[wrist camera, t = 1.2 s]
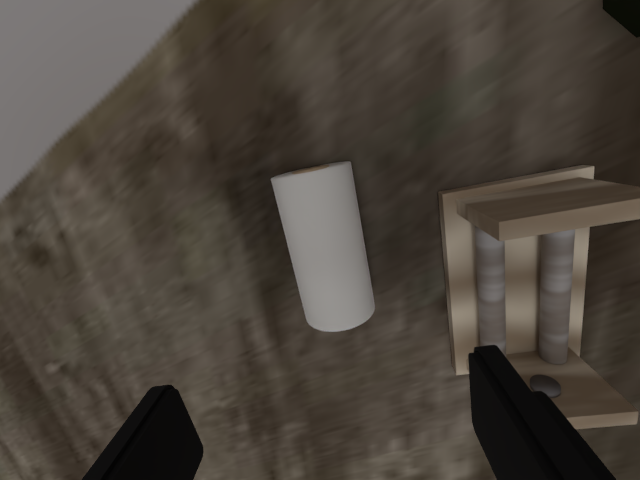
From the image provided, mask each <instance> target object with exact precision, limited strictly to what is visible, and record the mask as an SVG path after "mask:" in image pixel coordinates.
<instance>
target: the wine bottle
mask: <svg viewBox="0 0 640 480" xmlns="http://www.w3.org/2000/svg"><path fill="white" fill-rule="evenodd" d="M603 9H604V10H605V11H606V12H608V13H609V14H610V15H611V16H612V17H614V18H615V19H616V20H617V21H618V22H619V23H621V24H622V25H623V26H624V27H625V28H627V29H628V30H629V31H630V32H631V33H632V34H634V35H635V36H636V37H640V0H603Z"/></svg>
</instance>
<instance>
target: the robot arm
mask: <svg viewBox="0 0 640 480" xmlns="http://www.w3.org/2000/svg"><path fill="white" fill-rule="evenodd" d="M468 360H469V377H470V394H471V411H472V423H473V427H474V430H475V433H476V435H477V437H478V439H479V442H480V444H481V446H482V448H483V450H484V452H485V454H486V457H487V459H488V461H489V463H490V465H491V467H492V470H493V472H494V474H495V476H496V478H497V480H616V479H615V477H614V476H613V475H612V474H611V473H610V471H609V470H608V469H607V468H606V466H605V465H604V464H603V463H602V461H601V460H600V459H599V458H598V457H597V455H596V454H595V453H594V452H593V450H592V449H591V448H590V447H589V445H588V444H587V443H586V442H585V440H584V439H583V438H582V437H581V436H580V434H579V433H578V432H577V431H576V429H575V428H574V427H573V426H572V424H571V423H570V422H569V421H568V419H567V418H566V417H565V416H564V415H563V413H562V412H561V411H560V410H559V408H558V407H557V406H556V405H555V403H554V402H553V401H552V400H551V399H550V398H549V397H548V395H547V394H545V393H544V392H542V391H531V390H530V388H529V387H528V386H527V384H526V383H525V382H524V380H523V379H522V378H521V376H520V375H519V374H518V372H517V371H516V370H515V368H514V367H513V366H512V365H511V363H510V362H509V361H508V359H507V358H506V357H505V355H504V354H503V353H502V351H501V350H500V349H499V348H498V346H497V345H487V346H479V347H474V353H469V354H468ZM202 457H203V445H202V443H201V441H200V438H199V436H198V434H197V432H196V429H195V427H194V425H193V423H192V420H191V418H190V416H189V414H188V411H187V409H186V407H185V405H184V403H183V400H182V398H181V396H180V394H179V391H178V390H177V389H175V388H174V387H173V386H172V385H163V386H155V387H152V388H151V389H150V390H149V391H148V392H147V393H146V395H145V396H144V397H143V399H142V400H141V401H140V403H139V404H138V405H137V407H136V408H135V409H134V411H133V412H132V413H131V415H130V416H129V417H128V419H127V420H126V421H125V423H124V424H123V425H122V427H121V428H120V429H119V431H118V432H117V433H116V435H115V436H114V437H113V439H112V440H111V441H110V443H109V444H108V445H107V447H106V448H105V449H104V451H103V452H102V453H101V455H100V456H99V457H98V459H97V460H96V461H95V463H94V464H93V465H92V467H91V468H90V469H89V471H88V472H87V473H86V475H85V476H84V477H83V479H82V480H193V479H194V476H195V474H196V471H197V469H198V467H199V464H200V462H201V460H202Z"/></svg>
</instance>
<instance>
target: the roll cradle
mask: <svg viewBox="0 0 640 480" xmlns="http://www.w3.org/2000/svg"><path fill="white" fill-rule="evenodd" d="M438 201H439V213H440V225H441V237H442V249H443V261H444V273H445V285H446V297H447V309H448V321H449V333H450V345H451V358H452V367H453V369H454V371H455V373H456V375H463V374H469V360H468V354H469V353H474V347H479V346H487V345H497V346H498V348H499V349H500V350H501V351H502V353H503V354H504V355H505V357H506V358H507V359H508V361H509V362H510V363H511V365H512V366H513V367H514V368H515V370H516V371H517V372H518V374H519V375H520V376H521V378H522V379H523V380H524V382H525V383H526V384H527V386H528V387H529V388H530V390H531V391H542V392H544V393H545V394H547V395H548V397H549V398H550V399H551V400H552V401H553V402H554V403H555V405H556V406H557V407H558V408H559V410H560V411H561V412H562V413H563V415H564V416H565V417H566V418H567V419H568V421H569V422H570V423H571V424H572V426H573V427H574V428H575V429H585V428H597V427H609V426H621V425H633V424H637V419H638V413H639V411H638V410H637V409H636V408H635V407H633V406H632V405H631V404H630V403H629V402H628V401H627V400H626V399H625V398H624V397H623V396H621V395H620V394H619V393H618V392H617V391H616V390H615V389H614V388H613V387H612V386H611V385H609V384H608V383H607V382H606V381H605V380H604V379H603V378H602V377H601V376H600V375H599V374H597V373H596V372H595V371H594V370H593V369H592V368H591V367H590V366H589V365H588V364H587V363H585V362H584V361H583V360H582V359H581V358H580V347H581V334H582V321H583V308H584V295H585V282H586V269H587V256H588V243H589V231H590V227H592V226H599V225H605V224H611V223H617V222H623V221H630V220H636V219H640V187H637V186H631V185H625V184H619V183H613V182H607V181H601V180H595V179H594V166H587V165H579V166H574V167H569V168H563V169H558V170H552V171H547V172H542V173H536V174H531V175H525V176H520V177H515V178H509V179H504V180H498V181H493V182H488V183H482V184H477V185H471V186H466V187H460V188H455V189H450V190H444V191H439V192H438Z"/></svg>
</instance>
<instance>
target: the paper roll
mask: <svg viewBox="0 0 640 480" xmlns="http://www.w3.org/2000/svg"><path fill="white" fill-rule="evenodd" d="M271 182H272V186H273V190H274V194H275V198H276V202H277V206H278V210H279V214H280V217H281V221H282V225H283V229H284V233H285V237H286V241H287V245H288V249H289V253H290V257H291V261H292V265H293V269H294V273H295V277H296V281H297V285H298V289H299V293H300V297H301V301H302V305H303V309H304V313H305V317H306V320H307V322H308V324H309V325H310V326H312V327H313V328H315V329H318V330H321V331H328V332H336V331H344V330H348V329H351V328H354V327H357V326H359V325H361V324H362V323H364V322H365V321H367V320H368V319H369V318H370V317H371V316H372V315H373V313H374V310H375V303H374V297H373V291H372V285H371V279H370V273H369V267H368V261H367V255H366V249H365V243H364V237H363V231H362V225H361V219H360V213H359V207H358V202H357V196H356V190H355V184H354V178H353V172H352V166H351V162H350V161H344V162H336V163H329V164H324V165H319V166H314V167H309V168H304V169H300V170H296V171H292V172H288V173H284V174H281V175H278V176H275V177H273V178H271Z"/></svg>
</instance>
